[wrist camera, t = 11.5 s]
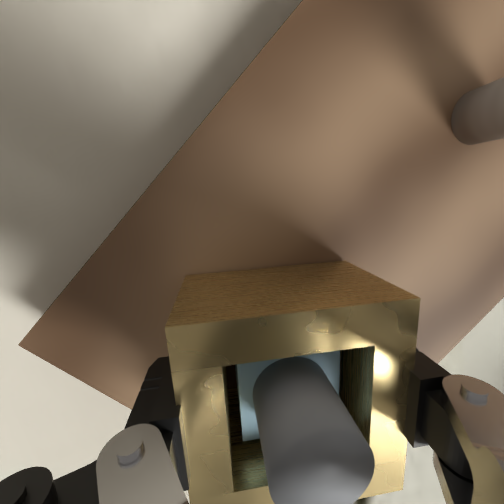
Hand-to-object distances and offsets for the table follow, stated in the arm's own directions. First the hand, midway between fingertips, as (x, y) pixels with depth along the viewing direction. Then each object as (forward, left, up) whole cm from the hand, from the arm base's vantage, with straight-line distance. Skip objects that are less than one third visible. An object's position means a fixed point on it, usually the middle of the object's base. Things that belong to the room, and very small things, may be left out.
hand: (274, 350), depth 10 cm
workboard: (0, -6, -3) cm, 7 cm away
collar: (0, 0, -1) cm, 1 cm away
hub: (0, 0, -1) cm, 1 cm away
